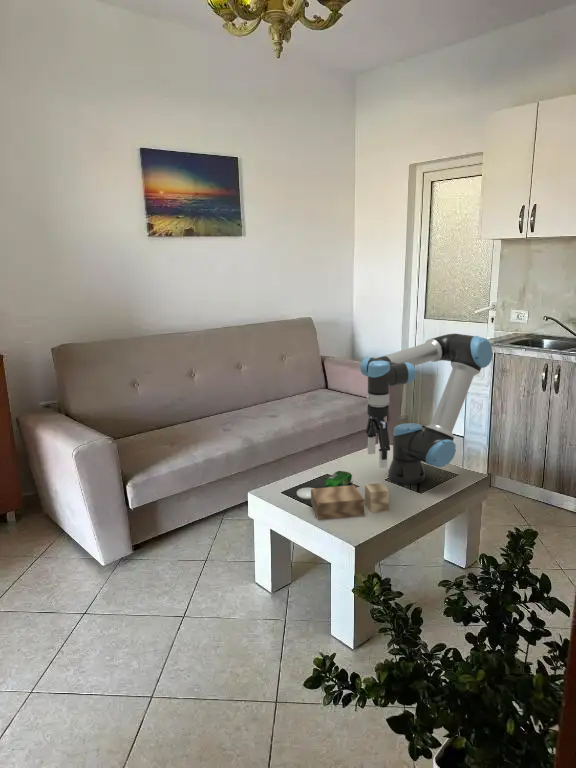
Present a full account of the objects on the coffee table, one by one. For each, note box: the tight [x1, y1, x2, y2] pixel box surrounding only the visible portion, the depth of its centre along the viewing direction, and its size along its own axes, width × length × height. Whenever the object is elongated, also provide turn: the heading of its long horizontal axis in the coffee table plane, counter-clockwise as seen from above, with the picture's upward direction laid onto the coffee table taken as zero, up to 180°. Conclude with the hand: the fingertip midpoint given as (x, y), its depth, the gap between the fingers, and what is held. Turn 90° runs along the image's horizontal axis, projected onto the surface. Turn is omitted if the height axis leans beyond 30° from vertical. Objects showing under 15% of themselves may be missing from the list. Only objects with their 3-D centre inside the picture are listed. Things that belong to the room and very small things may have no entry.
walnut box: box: [310, 484, 365, 521], centre depth 196 cm, size 17×13×6 cm
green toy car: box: [324, 470, 353, 488], centre depth 215 cm, size 7×16×5 cm, turn 148°
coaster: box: [296, 487, 315, 500], centre depth 210 cm, size 9×9×1 cm
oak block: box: [364, 482, 390, 513], centre depth 197 cm, size 7×7×8 cm
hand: (377, 460), depth 194 cm, fingers open, 13 cm apart
